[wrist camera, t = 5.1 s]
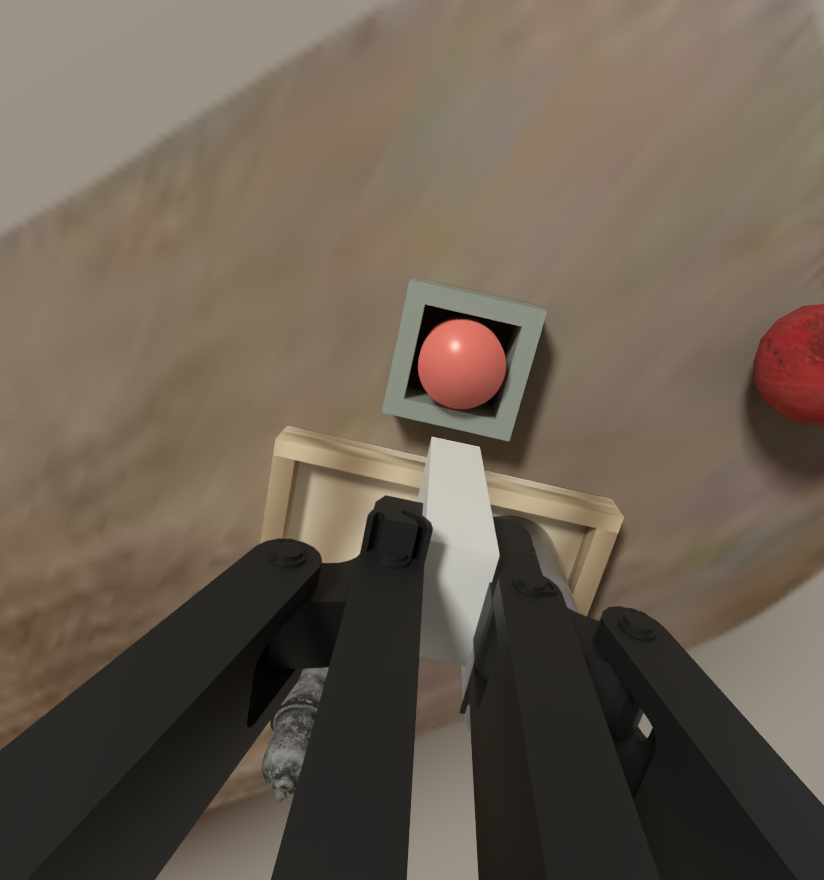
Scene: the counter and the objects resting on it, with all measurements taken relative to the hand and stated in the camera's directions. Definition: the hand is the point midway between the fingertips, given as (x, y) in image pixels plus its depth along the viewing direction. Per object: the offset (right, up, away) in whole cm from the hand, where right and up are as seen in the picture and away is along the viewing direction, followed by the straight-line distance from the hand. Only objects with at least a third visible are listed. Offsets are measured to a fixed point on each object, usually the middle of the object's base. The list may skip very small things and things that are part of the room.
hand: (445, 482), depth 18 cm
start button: (+2, +6, +14) cm, 15 cm away
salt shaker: (-7, -12, +21) cm, 26 cm away
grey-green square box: (+2, +6, +15) cm, 16 cm away
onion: (+19, +6, +14) cm, 24 cm away
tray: (0, -5, +18) cm, 19 cm away
